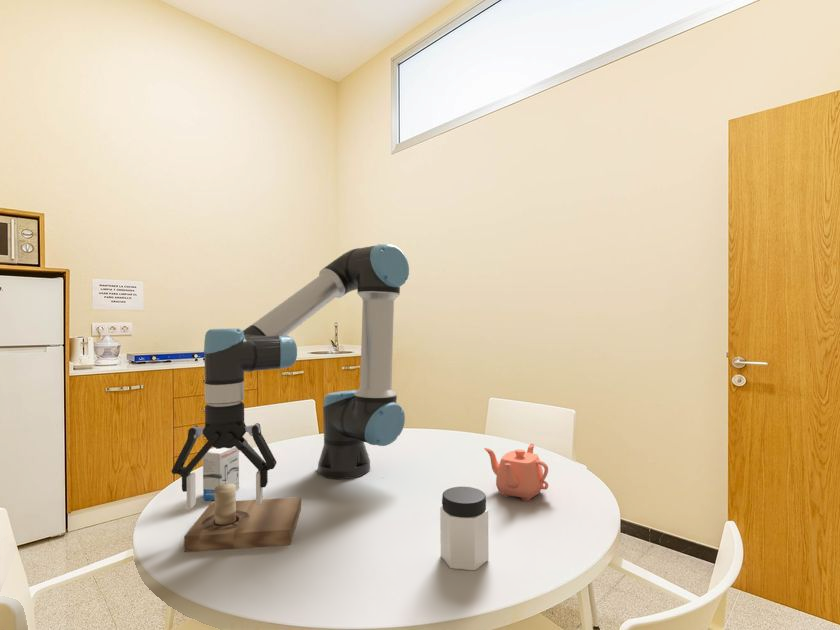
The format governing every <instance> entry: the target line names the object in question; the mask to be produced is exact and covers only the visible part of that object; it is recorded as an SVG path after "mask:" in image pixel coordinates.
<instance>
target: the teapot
mask: <svg viewBox="0 0 840 630" xmlns="http://www.w3.org/2000/svg"><path fill="white" fill-rule="evenodd" d="M534 447H535V444H534V443H530V444H529V445H528V447H527V449H526V450H524V449H521V448H519V449H515V450H511V451H509V452H506V453H505V454H504V455H502V456H501V459H500V461H499V462H498V460H497V457H496V454H495V452H494V451H493V450H492V449H490V448H487V447H484V448H483V450H484V451H486V452H487V454H488V455H489V458H490V459H489V460H490V465H491V470H492V472H493V473H494V474H495V476H496V477H495V478H496V479H495V486H496V488H497V490H498V493H501V494H502V496H503V497H511V496H512V497H517V498H522V499H521V500H522V501H524V502H525V501H526V502H531V501H532V498H533V497H535V496H537V495H538V494H539V493H540V492H541V491H543V490H544V491H545V490H547V489H549V483H548V482H547V481H545V480H546V478H547V476H548V473H549V466H548V465H547V463H546V462H545V461H543V460H540V457H539V455H538V454H536V453H534ZM543 469H544V470H543Z"/></svg>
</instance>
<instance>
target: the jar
mask: <svg viewBox="0 0 840 630" xmlns="http://www.w3.org/2000/svg"><path fill="white" fill-rule="evenodd" d="M486 496H487V495H486V493H485V492H484V491H482V490H480V489H479V488H476V487H472V486H455V487H450V488H447V489H446V490H444V491H443V492H442V496H441V497H442V498H441V504H442V505H441V506H440V508H439V512H440V518H439V519H440V525H439V526H440V557H441V558H442V559H443V561H444V562H445V563H446V565H448V567H449V568H450V569H457V570H466V571H476V570H477V569H479V568H480V567H482V565H484V564H485V563H486V562H488V560H489V559H490V558H489V510H488V509H487V507H486V506H487V497H486Z"/></svg>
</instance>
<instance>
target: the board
mask: <svg viewBox="0 0 840 630" xmlns="http://www.w3.org/2000/svg"><path fill="white" fill-rule="evenodd" d="M301 512H302V497H301V496H298V497H279V498H263V500H262V502H261V504H260V505H256V499H247V500H246V499H245V500H244V499H243V500H236V522H235V523H234V524H231V525H227V526H215V501H212V502H210V504H209V505H208V506H207V508H205V510H204V511H203V512H202V514H201V515H200V516H199V517H198V518H197V520H196V521H195V522H194V524H193V525H192V526H191V527H190V529H189V530H188V531H187V532H186V534H185V535H184V536H183V537H184V539H183V540H184V541H183V545H184V547H183V549H184V551H183V552H184V553H188V552H190V553H191V552H201V551H214V550H215V551H216V550H217V551H218V550H231V549H233V550H234V549H244V548H245V549H246V548H258V547H259V548H260V547H261V548H262V547H272V546H273V547H274V546H285V545H286V546H287V545H291V544H292V542H293V537H294V535H295V531H296V528H297V525H298V522H299V518H300V514H301Z"/></svg>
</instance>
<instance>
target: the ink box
mask: <svg viewBox="0 0 840 630" xmlns="http://www.w3.org/2000/svg"><path fill="white" fill-rule="evenodd" d="M228 483H231V484H235V485H236V491H238V490H239V488H240V450H238V449H237V448H236V447H235V446H234V447H232V448H221V449H216V448H215V447H211V448H210V450H209V451H208V452H207V453H206V454H205V455H204V457H203V458H202V486H203V487H202V491H203V493H202V494H203V497H202V499H203V500H209V501H210V500H212V501H215V487H217V486H219V485H222V484H228Z"/></svg>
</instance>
